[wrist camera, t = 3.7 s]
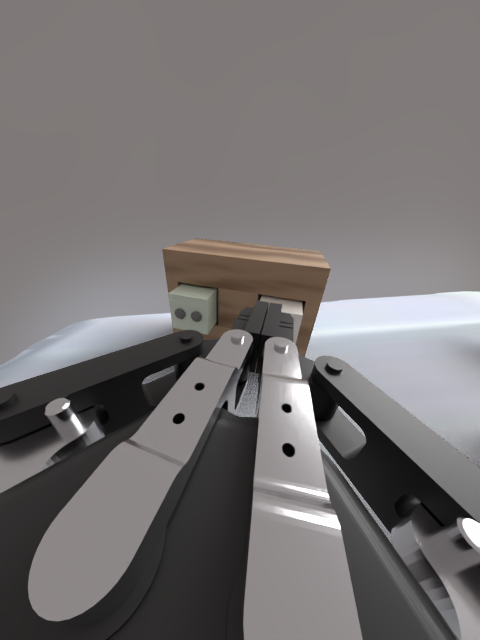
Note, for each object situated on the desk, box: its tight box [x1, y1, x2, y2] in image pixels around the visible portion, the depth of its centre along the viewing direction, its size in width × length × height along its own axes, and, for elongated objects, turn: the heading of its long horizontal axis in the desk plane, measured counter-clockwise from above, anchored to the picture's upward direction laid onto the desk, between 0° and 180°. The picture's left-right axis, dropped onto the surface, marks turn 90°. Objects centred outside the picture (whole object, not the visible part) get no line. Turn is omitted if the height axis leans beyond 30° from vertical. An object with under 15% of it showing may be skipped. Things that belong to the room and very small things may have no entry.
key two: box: [168, 283, 218, 335], centre depth 27 cm, size 6×5×5 cm
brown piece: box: [162, 239, 330, 367], centre depth 31 cm, size 10×20×16 cm, turn 76°
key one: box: [260, 295, 303, 345], centre depth 25 cm, size 6×5×5 cm
